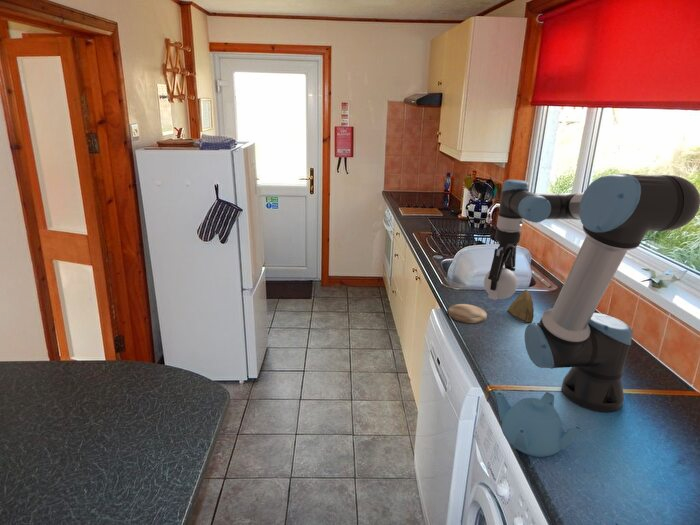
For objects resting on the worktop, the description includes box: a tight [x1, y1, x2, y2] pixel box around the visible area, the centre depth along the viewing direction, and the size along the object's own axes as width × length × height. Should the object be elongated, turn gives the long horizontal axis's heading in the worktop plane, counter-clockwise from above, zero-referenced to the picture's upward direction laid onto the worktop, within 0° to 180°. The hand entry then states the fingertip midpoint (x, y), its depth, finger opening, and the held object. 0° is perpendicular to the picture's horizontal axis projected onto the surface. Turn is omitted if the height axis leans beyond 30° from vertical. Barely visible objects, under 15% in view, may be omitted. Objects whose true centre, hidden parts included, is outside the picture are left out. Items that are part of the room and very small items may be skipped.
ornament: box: [483, 267, 518, 300], centre depth 152 cm, size 10×10×12 cm
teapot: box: [495, 391, 583, 458], centre depth 109 cm, size 15×15×11 cm
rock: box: [507, 289, 535, 323], centre depth 173 cm, size 11×9×10 cm
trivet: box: [447, 303, 488, 324], centre depth 174 cm, size 14×14×1 cm
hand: (498, 293), depth 154 cm, fingers closed on ornament, 10 cm apart
